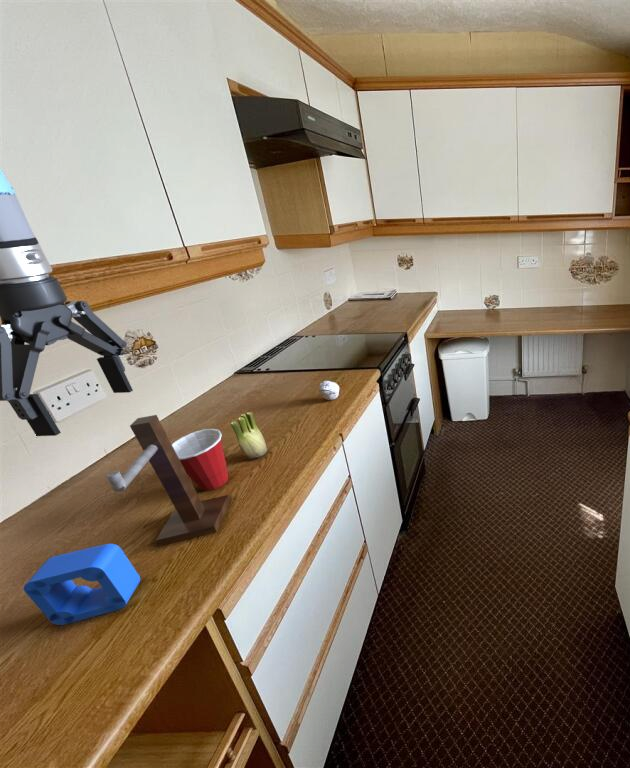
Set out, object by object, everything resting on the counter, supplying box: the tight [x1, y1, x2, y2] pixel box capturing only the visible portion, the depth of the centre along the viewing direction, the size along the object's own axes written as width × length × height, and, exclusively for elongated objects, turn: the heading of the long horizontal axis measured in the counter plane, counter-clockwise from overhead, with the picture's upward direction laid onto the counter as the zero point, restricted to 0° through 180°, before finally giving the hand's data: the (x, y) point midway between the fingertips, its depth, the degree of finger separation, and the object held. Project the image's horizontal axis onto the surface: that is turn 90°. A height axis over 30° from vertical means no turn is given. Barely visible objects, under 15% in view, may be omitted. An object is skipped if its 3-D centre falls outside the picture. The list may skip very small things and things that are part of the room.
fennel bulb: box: [230, 411, 268, 460], centre depth 104 cm, size 6×5×12 cm
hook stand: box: [105, 414, 231, 547], centre depth 76 cm, size 19×10×25 cm, turn 18°
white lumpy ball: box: [318, 380, 340, 401], centre depth 132 cm, size 6×7×7 cm
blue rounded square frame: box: [23, 543, 141, 626], centre depth 66 cm, size 5×10×10 cm, turn 108°
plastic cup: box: [171, 428, 229, 492], centre depth 94 cm, size 11×11×12 cm
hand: (89, 411), depth 66 cm, fingers open, 13 cm apart
